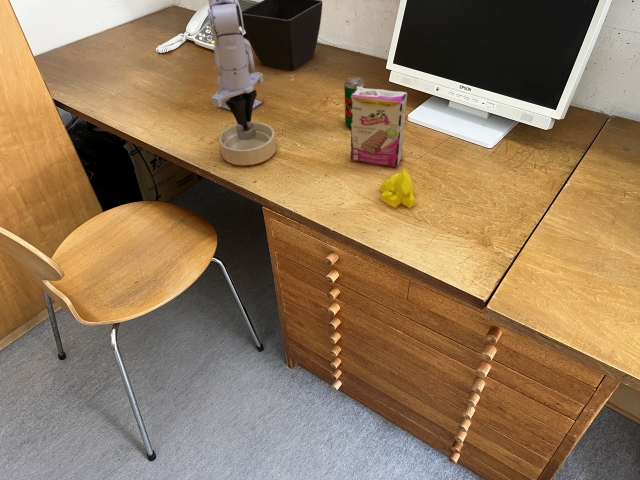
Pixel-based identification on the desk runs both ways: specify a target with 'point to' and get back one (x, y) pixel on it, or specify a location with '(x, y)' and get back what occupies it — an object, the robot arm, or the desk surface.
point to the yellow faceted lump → (398, 190)
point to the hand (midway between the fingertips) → (244, 122)
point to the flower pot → (283, 31)
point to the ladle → (246, 129)
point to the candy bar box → (377, 126)
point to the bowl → (248, 145)
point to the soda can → (349, 90)
